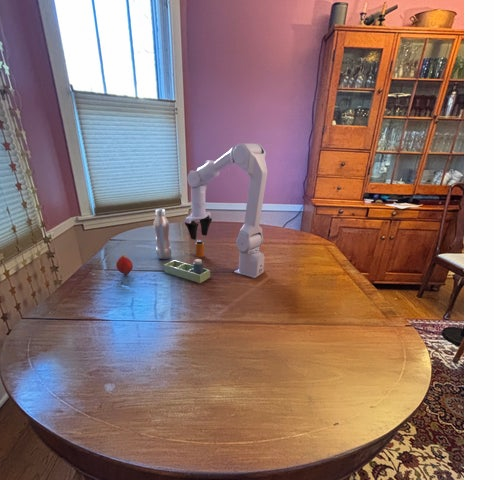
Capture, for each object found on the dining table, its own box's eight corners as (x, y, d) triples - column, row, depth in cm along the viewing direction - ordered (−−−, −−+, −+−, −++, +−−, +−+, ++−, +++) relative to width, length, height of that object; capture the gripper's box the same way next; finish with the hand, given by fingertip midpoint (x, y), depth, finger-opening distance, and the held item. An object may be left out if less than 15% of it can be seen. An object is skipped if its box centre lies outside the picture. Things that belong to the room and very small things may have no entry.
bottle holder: (210, 278, 112) (210, 269, 110) (200, 284, 107) (199, 275, 105) (174, 268, 119) (174, 259, 118) (164, 273, 115) (163, 264, 113)
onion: (114, 275, 112) (111, 255, 107) (125, 270, 116) (122, 250, 112) (126, 279, 109) (123, 258, 105) (137, 273, 114) (134, 253, 110)
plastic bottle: (173, 255, 132) (170, 208, 121) (169, 261, 126) (165, 212, 115) (159, 255, 132) (154, 208, 121) (154, 260, 126) (149, 211, 116)
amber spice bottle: (205, 256, 132) (205, 240, 129) (200, 258, 130) (200, 242, 126) (199, 254, 134) (198, 239, 130) (194, 256, 131) (193, 241, 128)
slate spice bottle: (205, 277, 111) (205, 259, 107) (199, 280, 108) (198, 262, 105) (197, 275, 113) (197, 257, 109) (191, 278, 110) (190, 260, 106)
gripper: (201, 200, 127) (201, 231, 134) (179, 205, 117) (180, 239, 124) (214, 202, 124) (214, 234, 131) (193, 207, 113) (194, 242, 121)
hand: (199, 237), depth 127 cm, fingers open, 7 cm apart
